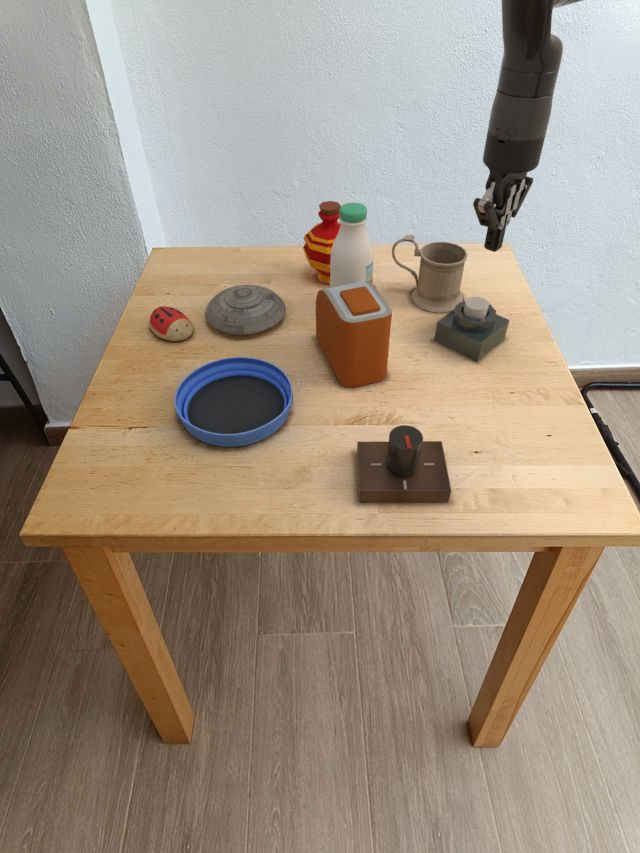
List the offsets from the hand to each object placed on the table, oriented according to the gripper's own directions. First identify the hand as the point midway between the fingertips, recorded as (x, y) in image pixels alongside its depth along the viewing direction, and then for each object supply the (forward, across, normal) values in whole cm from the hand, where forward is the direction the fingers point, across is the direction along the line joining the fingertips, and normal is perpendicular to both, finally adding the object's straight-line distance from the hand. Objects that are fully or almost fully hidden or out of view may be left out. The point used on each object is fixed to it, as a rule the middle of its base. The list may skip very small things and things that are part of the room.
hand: (492, 248), depth 89 cm
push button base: (+18, -1, -1) cm, 18 cm away
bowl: (+19, +39, -18) cm, 47 cm away
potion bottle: (+18, 0, -34) cm, 39 cm away
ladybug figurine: (+18, +33, -43) cm, 57 cm away
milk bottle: (+18, +6, -23) cm, 30 cm away
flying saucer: (+18, +21, -36) cm, 46 cm away
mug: (+18, -7, -15) cm, 25 cm away
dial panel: (+19, +32, +9) cm, 39 cm away
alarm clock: (+19, +17, -13) cm, 28 cm away
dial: (+16, +32, +9) cm, 37 cm away
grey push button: (+13, -1, -1) cm, 13 cm away
